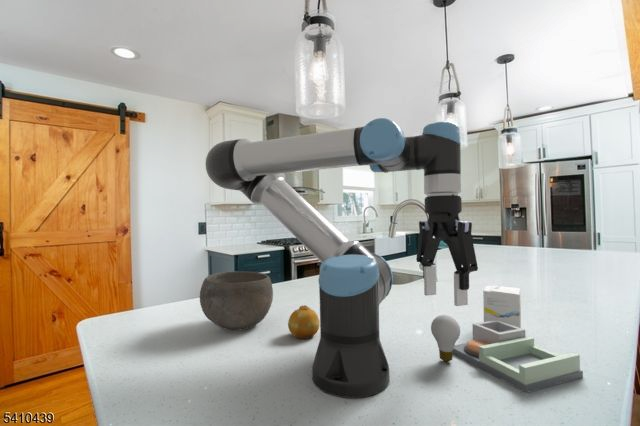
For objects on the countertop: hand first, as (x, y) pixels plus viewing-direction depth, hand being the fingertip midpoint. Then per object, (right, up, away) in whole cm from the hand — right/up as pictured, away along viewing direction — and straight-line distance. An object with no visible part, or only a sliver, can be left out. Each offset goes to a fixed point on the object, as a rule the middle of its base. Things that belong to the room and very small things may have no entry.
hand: (444, 299), depth 70 cm
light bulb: (0, -14, 0) cm, 14 cm away
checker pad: (+9, -12, +2) cm, 15 cm away
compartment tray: (+13, -13, -1) cm, 19 cm away
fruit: (-31, -14, +17) cm, 38 cm away
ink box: (+22, -14, +17) cm, 31 cm away
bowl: (-51, -15, +26) cm, 59 cm away
